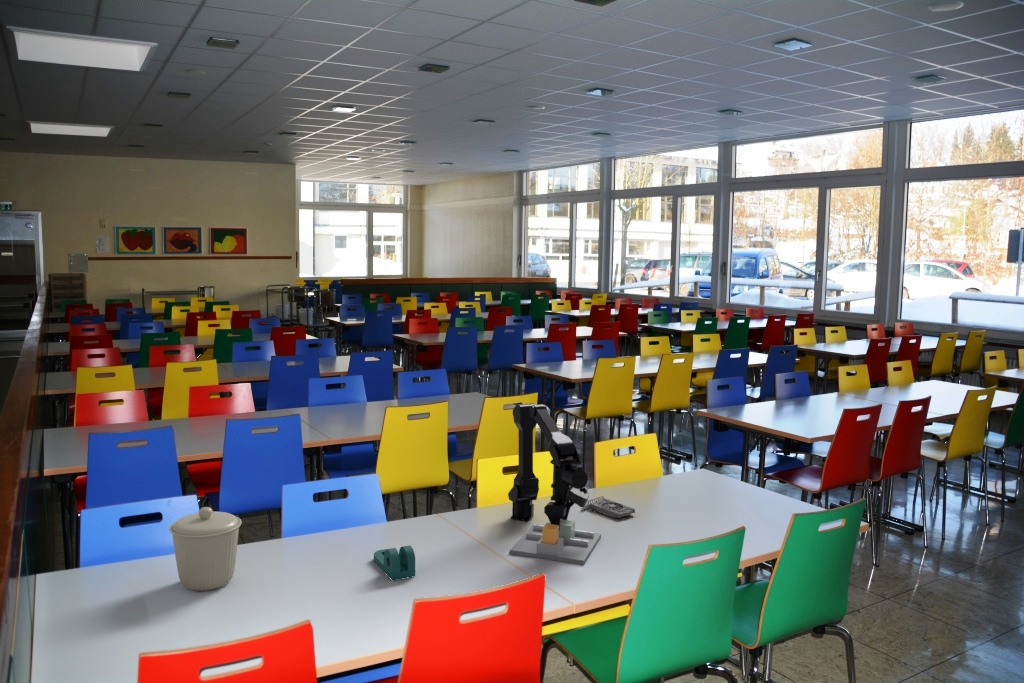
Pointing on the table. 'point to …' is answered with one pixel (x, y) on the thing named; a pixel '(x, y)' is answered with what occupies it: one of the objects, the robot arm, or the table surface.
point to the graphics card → (609, 507)
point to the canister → (205, 548)
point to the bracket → (396, 562)
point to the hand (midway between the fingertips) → (560, 528)
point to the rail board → (556, 546)
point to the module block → (566, 528)
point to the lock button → (550, 534)
